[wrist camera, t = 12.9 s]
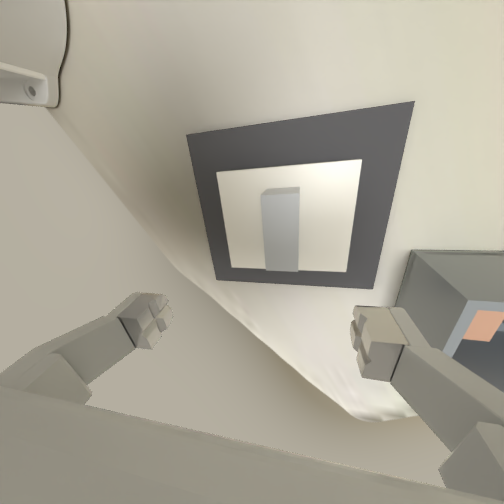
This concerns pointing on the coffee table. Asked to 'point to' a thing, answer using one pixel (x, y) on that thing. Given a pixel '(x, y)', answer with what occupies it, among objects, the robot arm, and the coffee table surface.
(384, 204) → the black rubber mat
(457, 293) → the grey storage box
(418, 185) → the coffee table surface
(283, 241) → the cream lid
